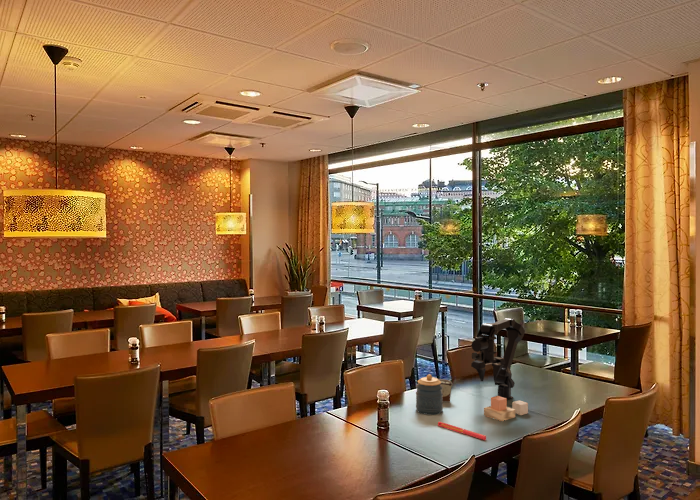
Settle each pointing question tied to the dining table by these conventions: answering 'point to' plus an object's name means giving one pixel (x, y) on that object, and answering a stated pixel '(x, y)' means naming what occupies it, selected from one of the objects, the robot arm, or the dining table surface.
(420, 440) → the dining table surface
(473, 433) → the chopstick
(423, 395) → the canister
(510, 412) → the birch base block
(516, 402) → the beige cube
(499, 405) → the terracotta cube
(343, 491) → the dining table surface
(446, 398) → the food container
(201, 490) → the dining table surface
